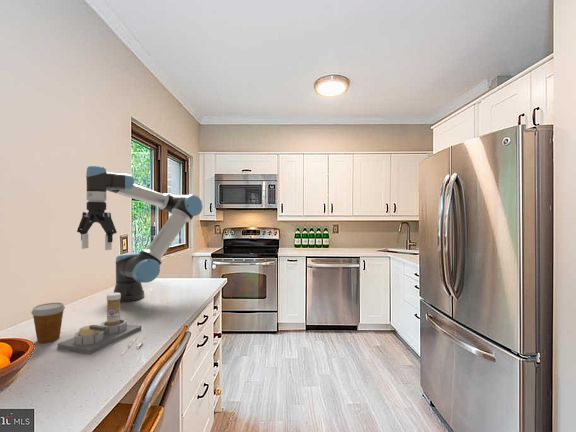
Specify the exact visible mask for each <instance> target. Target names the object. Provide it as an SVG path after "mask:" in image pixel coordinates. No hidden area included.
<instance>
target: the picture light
mask: <svg viewBox="0 0 576 432" xmlns="http://www.w3.org/2000/svg"><path fill="white" fill-rule="evenodd" d="M137 339H138V338H137V337H136V338H134V339H133V341H131V342H130V343H129V344H128V345H127V347H126V348H125V349H124V350H123V352H121V354H119V357H122V356H123V355H124V354H126V353H127V350H129V349H130V347H132V345H133V344H135V345H136V350H139V349H140V346H141V345H144V342H143V341H141V342H139V344H138V342H137Z"/></svg>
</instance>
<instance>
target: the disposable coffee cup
mask: <svg viewBox="0 0 576 432" xmlns="http://www.w3.org/2000/svg"><path fill="white" fill-rule="evenodd" d="M65 308H66V306H65V305H64V303H63V302H49V303H41V304H39V305H38V304H37V305H36V306H34V307H33V308H32V310H31V313H30V314H31V315H32V318H33V324H34V329H35V333H36V334H35V336H36V342H37V343H38V344H45V343H47V344H48V343H52V342H55V341H57V340H58V339H60V336H61V329H62V322H63V316H64V310H65Z"/></svg>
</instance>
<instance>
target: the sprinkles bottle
mask: <svg viewBox="0 0 576 432" xmlns="http://www.w3.org/2000/svg"><path fill="white" fill-rule="evenodd" d="M120 298H121V294H120V293H114V292H111V293H107V294H106V301H107V302H106V303H107V306H106V307H107V308H106V309H107V311H106V321H107V326H114V325H119V324H120V319H121V302H120Z"/></svg>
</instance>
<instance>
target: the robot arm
mask: <svg viewBox="0 0 576 432" xmlns="http://www.w3.org/2000/svg"><path fill="white" fill-rule="evenodd" d="M85 175H86V176H85V177H86V210H87V211H84V212H82V214H81V215H82V216H81V219H80V222H79V225H78V227H77V230H76V232H77V233H79V234H80V241H81V249H82V250H83V249H89V233H88V232H89V231H90V229H91V227H92V226H93V224H94V223H98V224H100V226H101V228H102V230H103V231H104V232H105V236H104V249H105V251H110V250H112V249H113V248H112V247H113V244H112V243H113V240H114V239H113V235H115V234H117V229H116V226H115V224H114V221H113V219H112V213H111V212H108V211H107V212H105V211H106V210H107V202H106V201H107V191H108V192H110V193H114V194H118V195H120V196H123V197H127V198H131V199H133V200H137V201H139V202H143V203H146V204H149V205H151V206H155V207H158V209H159V210H162V211H165V212H167V213H170V214H171V215H170V217H169V218H168V219H167V221H166V222H165V223H164V224H163V226H162V227H161V229H160V230H159V231H158V233H157V234H156V235H155V237H154V238H153V239H152V241H151V242H150V244H149V245H148V247H147V248H146V249H143V250H141V251H140V252H139V253H128V254H120V255H119V254H118V255H117V256H116V258H115V286H114V289H113V293H120V294H121V298H120V303H121V302H122V303H123V302H124V303H126V302H133V301H137V300H140V299H142V298H145V290H144V287H143V286H142V285H143V283H144V284H146V283H150V282H151V283H152V281H155V279H157V277H158V276H159V274H160V272H161V269H160V268H161V265H162V263H163V262H162V258H163V256H164V255H165V253H166V252H167V251H168V249H169V248H170V246H171V245H172V244H173V242H174V240H175V239H176V238H177V236H178V235H179V233H180V231H181V230H183V227H184V226H185V225H186V223H189V222H191V220H192V219H193V218H194V217H196V216H198V215H200V214H201V212H202V211H203V202H202V200H201V198H200V197H199V196H198V195H195V194H191V193H190V194H170V193H166V192H165V193H162V192H158V191H155V190H152V189H150V188H146V187H144V186H141V185H138V184H135V179H134V176H133V175H132V174H128V173H120V172H119V173H118V172H109V171H108V170H107V167H105V166H98V165H90V166H87V168H86V174H85Z"/></svg>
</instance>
